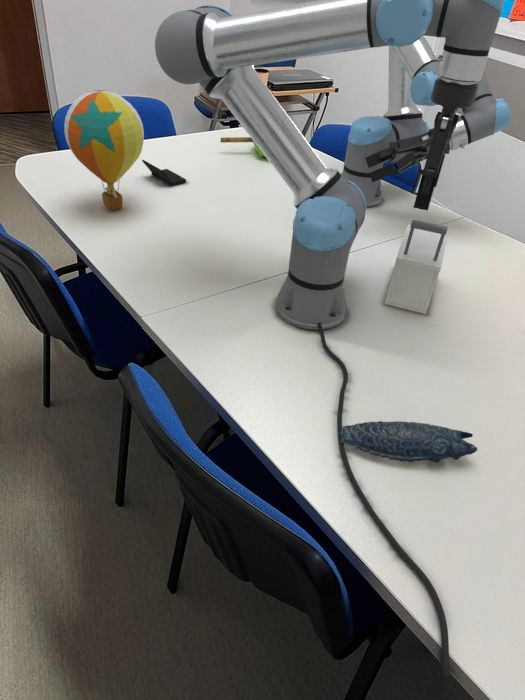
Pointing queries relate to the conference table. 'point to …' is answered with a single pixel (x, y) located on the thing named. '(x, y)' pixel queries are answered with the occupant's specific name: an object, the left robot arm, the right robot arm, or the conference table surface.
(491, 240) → the conference table surface
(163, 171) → the black angular block
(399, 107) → the right robot arm
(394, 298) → the chest
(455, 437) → the fish model
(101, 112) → the toy
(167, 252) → the conference table surface
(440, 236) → the lid
